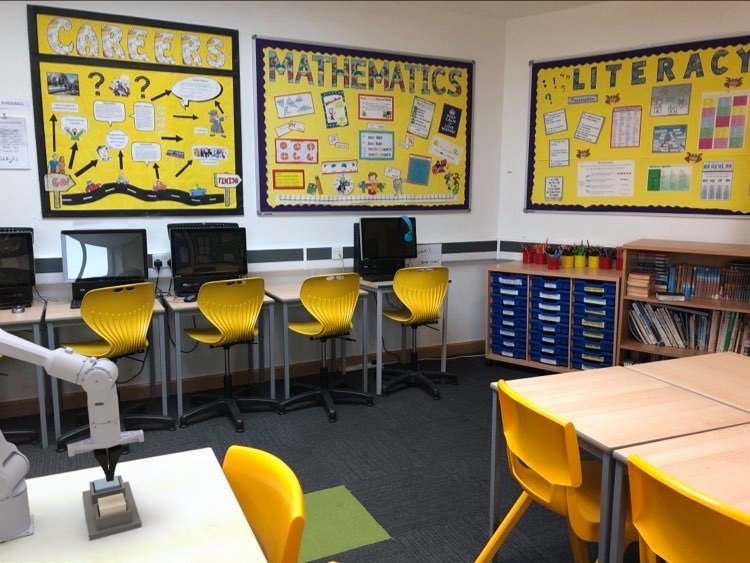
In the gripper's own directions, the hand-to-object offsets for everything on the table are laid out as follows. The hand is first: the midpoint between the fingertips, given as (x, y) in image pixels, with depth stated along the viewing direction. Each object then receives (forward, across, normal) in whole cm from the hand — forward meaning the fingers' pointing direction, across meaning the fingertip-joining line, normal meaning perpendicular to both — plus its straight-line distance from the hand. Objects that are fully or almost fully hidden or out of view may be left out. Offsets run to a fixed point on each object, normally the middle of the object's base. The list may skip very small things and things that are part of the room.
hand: (109, 479), depth 131 cm
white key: (+6, 0, +1) cm, 6 cm away
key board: (+9, 0, -4) cm, 10 cm away
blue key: (+7, 0, -10) cm, 12 cm away
